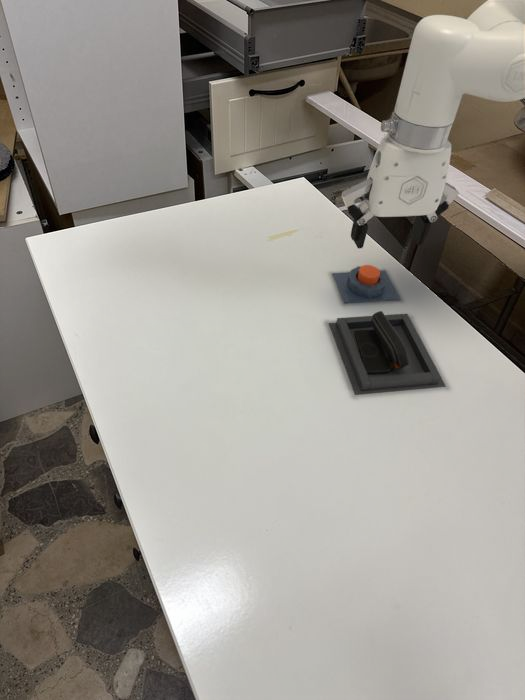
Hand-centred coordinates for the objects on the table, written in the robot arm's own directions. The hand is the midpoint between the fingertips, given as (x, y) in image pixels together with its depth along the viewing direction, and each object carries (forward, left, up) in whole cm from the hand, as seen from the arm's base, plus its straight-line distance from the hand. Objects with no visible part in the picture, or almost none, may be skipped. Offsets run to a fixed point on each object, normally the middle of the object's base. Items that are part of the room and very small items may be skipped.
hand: (387, 241), depth 80 cm
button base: (-1, -4, -14) cm, 14 cm away
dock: (+1, +12, -14) cm, 18 cm away
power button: (-1, -5, -11) cm, 12 cm away
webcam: (+2, +11, -13) cm, 17 cm away
